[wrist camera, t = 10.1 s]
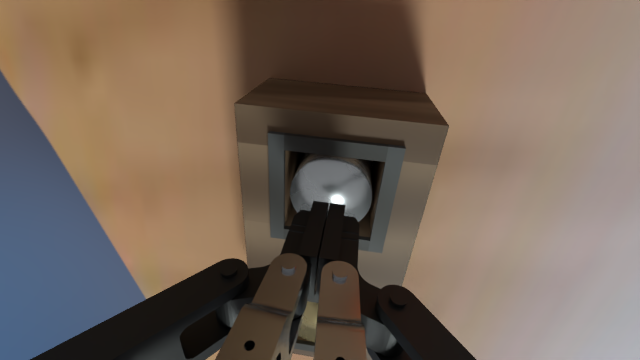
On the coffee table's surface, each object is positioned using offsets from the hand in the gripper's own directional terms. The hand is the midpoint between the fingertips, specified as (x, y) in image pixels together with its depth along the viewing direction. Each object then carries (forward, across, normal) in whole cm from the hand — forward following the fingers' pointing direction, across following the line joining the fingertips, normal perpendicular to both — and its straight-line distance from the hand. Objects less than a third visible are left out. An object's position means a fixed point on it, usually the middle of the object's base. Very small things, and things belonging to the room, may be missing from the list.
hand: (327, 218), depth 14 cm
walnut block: (+8, 0, +6) cm, 10 cm away
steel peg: (+8, 0, 0) cm, 8 cm away
